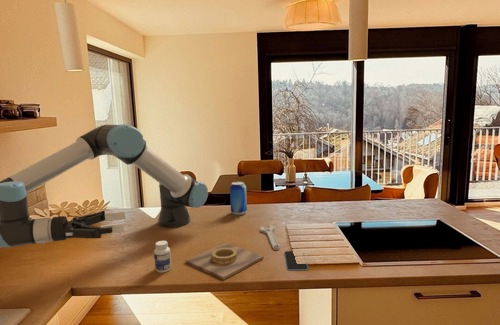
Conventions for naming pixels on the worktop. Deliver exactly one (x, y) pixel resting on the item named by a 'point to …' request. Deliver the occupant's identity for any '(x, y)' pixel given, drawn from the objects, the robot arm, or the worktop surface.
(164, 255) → the pill bottle
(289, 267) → the smartphone
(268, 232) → the adjustable wrench
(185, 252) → the worktop surface
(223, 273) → the socket plate
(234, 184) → the beer can
